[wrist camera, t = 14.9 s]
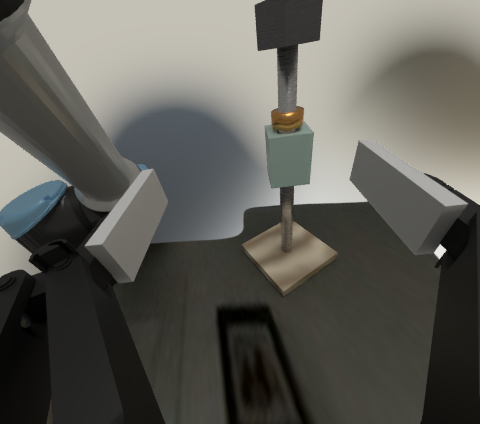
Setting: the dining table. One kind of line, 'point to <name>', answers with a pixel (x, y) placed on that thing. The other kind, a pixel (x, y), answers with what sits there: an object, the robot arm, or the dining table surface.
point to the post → (287, 74)
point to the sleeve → (289, 156)
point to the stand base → (288, 257)
